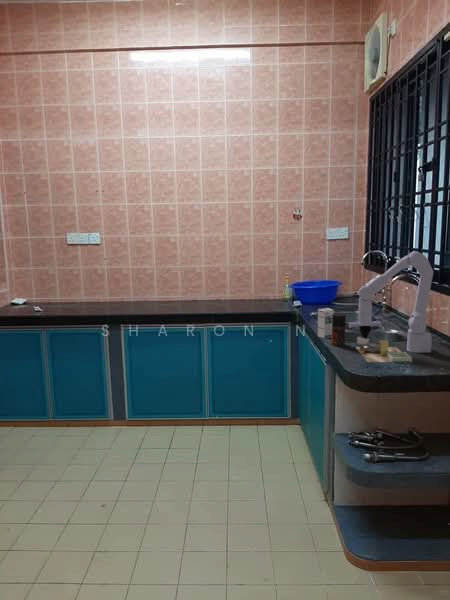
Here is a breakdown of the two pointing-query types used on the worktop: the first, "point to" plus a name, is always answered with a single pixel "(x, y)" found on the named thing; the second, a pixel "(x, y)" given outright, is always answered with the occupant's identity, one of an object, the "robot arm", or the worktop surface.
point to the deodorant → (338, 329)
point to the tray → (399, 356)
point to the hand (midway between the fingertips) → (364, 342)
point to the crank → (367, 345)
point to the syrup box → (325, 322)
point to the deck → (377, 355)
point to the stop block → (383, 347)
